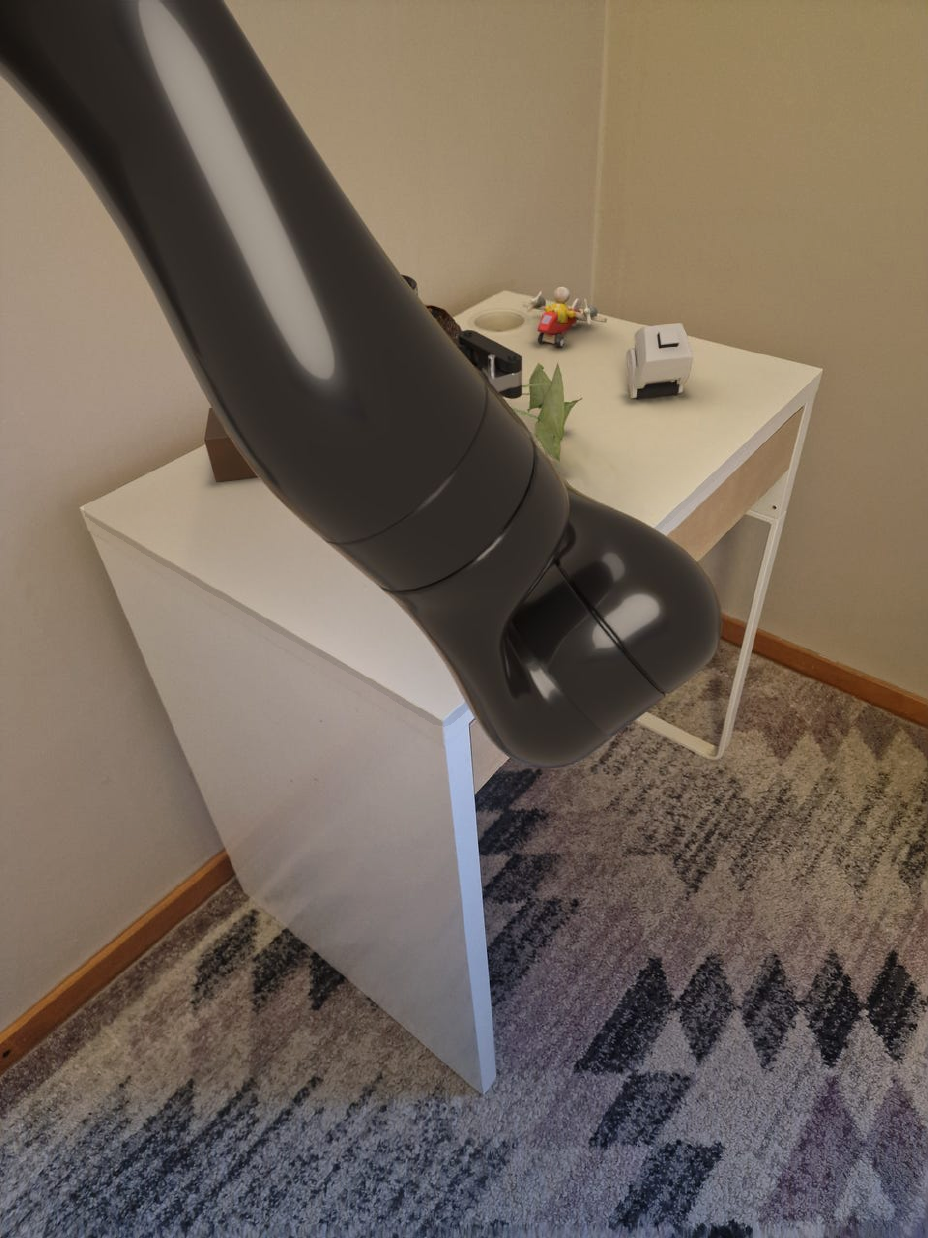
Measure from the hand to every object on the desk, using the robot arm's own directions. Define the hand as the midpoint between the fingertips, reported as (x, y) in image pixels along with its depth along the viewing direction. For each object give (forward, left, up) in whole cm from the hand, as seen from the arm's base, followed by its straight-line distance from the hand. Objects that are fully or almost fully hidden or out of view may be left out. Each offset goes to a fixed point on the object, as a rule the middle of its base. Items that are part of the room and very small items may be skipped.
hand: (378, 336), depth 58 cm
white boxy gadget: (+31, +30, -23) cm, 49 cm away
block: (-15, +26, -23) cm, 38 cm away
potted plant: (+8, +24, -23) cm, 34 cm away
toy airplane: (+25, +49, -23) cm, 60 cm away
